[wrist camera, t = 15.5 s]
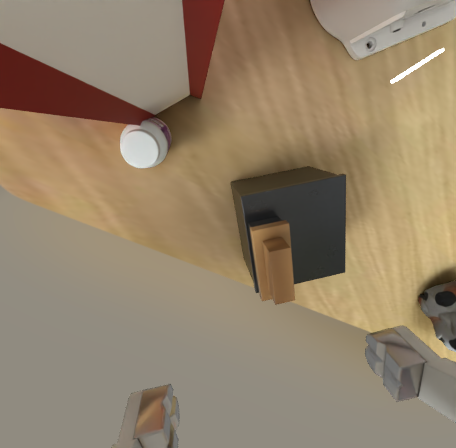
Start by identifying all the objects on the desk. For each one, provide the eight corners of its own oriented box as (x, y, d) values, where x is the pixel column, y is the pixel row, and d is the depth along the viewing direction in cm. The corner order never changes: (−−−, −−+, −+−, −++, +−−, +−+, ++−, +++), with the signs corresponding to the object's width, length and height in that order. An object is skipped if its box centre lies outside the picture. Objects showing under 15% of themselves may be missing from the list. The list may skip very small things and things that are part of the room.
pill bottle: (166, 113, 33) (159, 120, 25) (175, 152, 36) (170, 170, 27) (127, 118, 33) (105, 127, 24) (138, 158, 35) (122, 177, 27)
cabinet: (312, 163, 39) (350, 173, 30) (316, 242, 45) (348, 271, 35) (229, 181, 38) (240, 196, 29) (242, 259, 44) (256, 293, 34)
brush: (280, 214, 31) (299, 232, 25) (286, 280, 34) (304, 308, 29) (246, 221, 30) (258, 241, 25) (256, 286, 34) (268, 317, 28)
